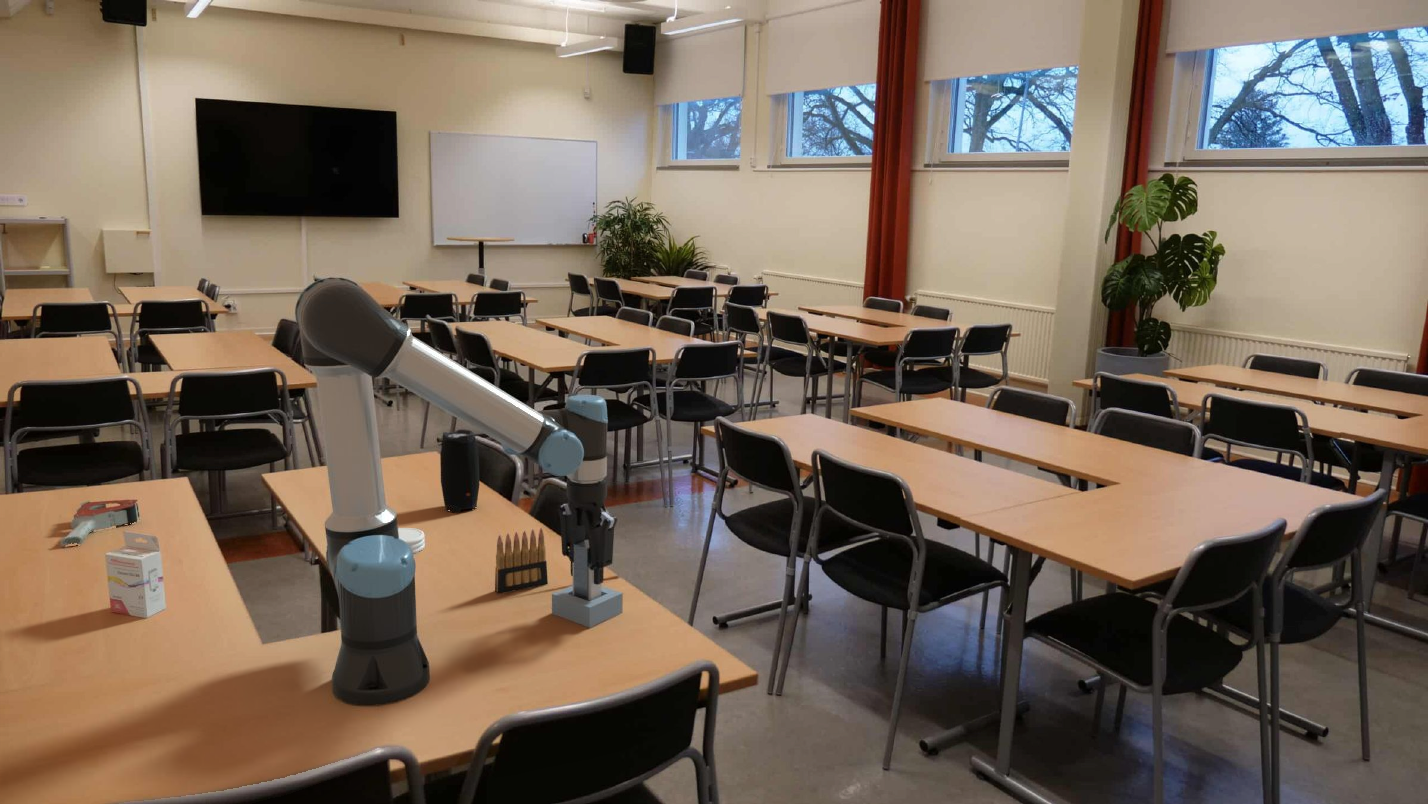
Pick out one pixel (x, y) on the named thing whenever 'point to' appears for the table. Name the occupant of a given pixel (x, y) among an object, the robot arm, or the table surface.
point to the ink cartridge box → (136, 577)
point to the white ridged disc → (412, 538)
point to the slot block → (587, 606)
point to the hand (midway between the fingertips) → (587, 595)
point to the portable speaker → (459, 470)
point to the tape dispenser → (100, 518)
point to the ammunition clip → (520, 563)
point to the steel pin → (582, 569)
